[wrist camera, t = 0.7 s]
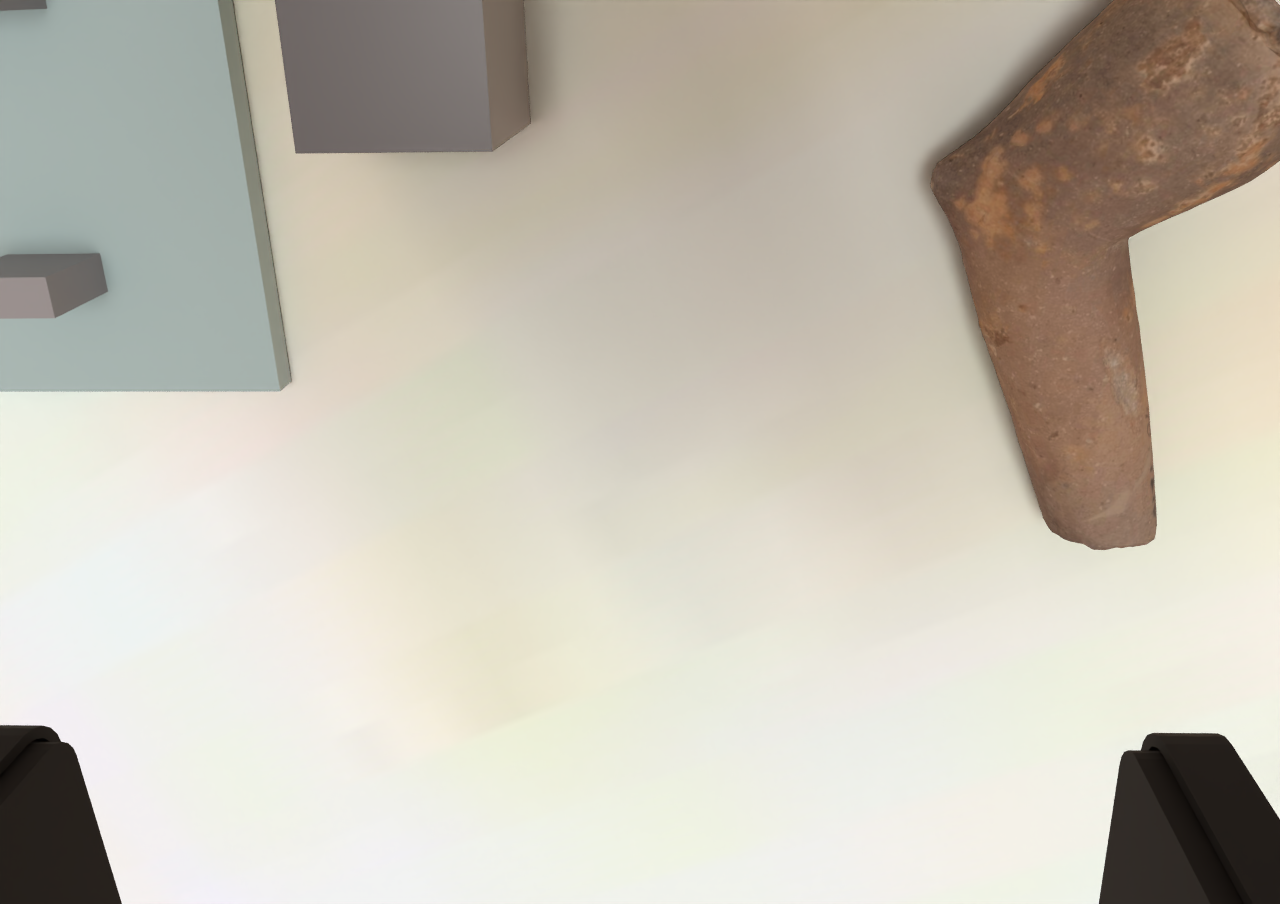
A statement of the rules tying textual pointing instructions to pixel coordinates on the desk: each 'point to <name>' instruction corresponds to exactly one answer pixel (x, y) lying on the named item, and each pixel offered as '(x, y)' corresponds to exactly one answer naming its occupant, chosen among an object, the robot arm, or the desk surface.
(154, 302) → the base
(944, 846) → the desk surface
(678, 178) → the desk surface
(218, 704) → the desk surface
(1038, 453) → the pipe
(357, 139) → the dark gray block
